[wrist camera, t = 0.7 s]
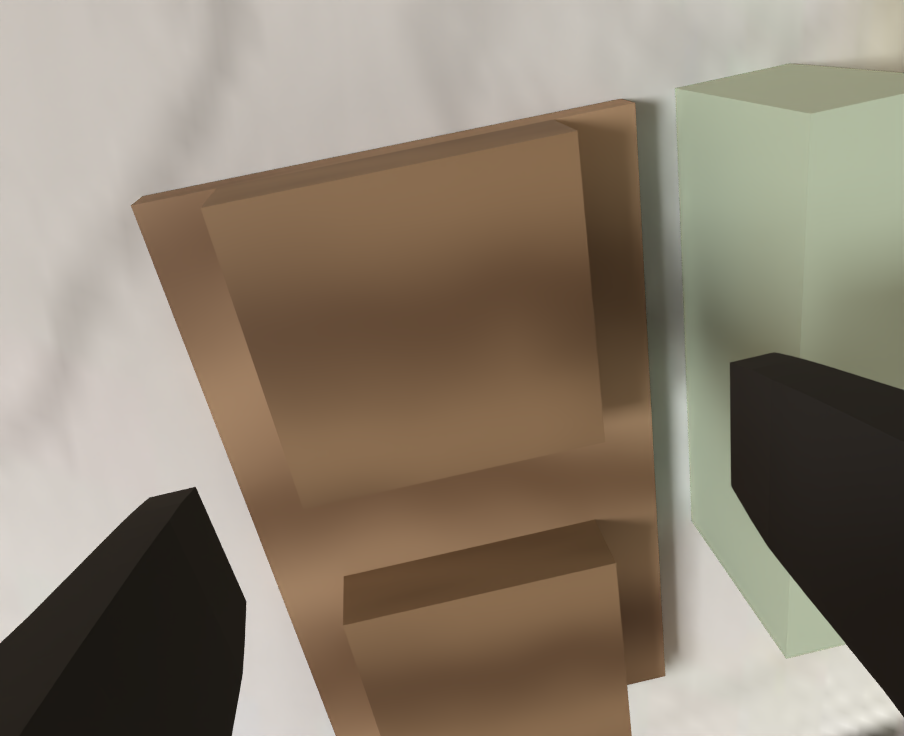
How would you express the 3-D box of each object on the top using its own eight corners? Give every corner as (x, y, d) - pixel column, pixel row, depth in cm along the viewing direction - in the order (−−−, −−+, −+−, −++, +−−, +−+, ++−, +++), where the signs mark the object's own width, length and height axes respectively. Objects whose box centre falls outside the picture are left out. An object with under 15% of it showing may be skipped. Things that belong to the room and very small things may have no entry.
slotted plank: (654, 654, 27) (688, 724, 24) (342, 727, 26) (341, 807, 23) (620, 98, 18) (669, 111, 15) (142, 196, 17) (103, 227, 14)
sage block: (773, 498, 24) (893, 632, 19) (689, 518, 24) (786, 658, 19) (786, 63, 18) (972, 78, 12) (672, 87, 18) (810, 114, 12)
